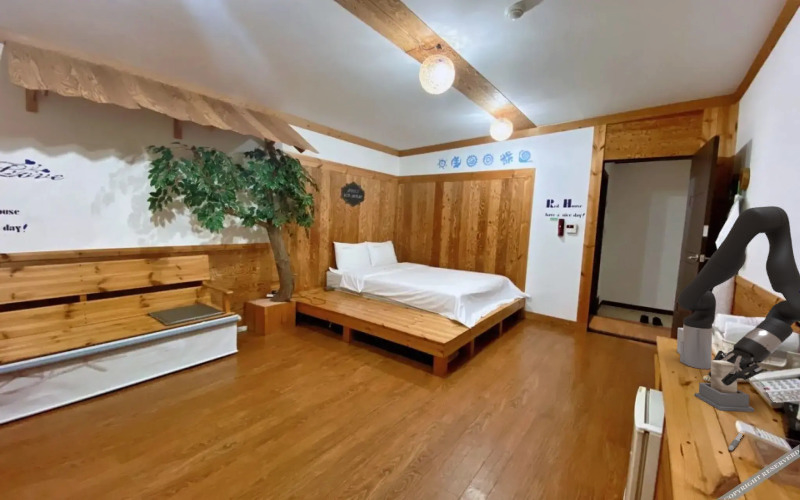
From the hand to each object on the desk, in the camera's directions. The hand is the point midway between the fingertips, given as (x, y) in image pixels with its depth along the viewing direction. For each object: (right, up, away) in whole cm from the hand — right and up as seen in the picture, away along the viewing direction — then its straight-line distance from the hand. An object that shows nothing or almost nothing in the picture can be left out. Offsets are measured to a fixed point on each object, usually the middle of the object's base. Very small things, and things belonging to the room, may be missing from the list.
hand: (717, 380), depth 109 cm
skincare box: (+31, -6, +46) cm, 56 cm away
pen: (-15, -9, -21) cm, 27 cm away
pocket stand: (+2, -8, 0) cm, 8 cm away
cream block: (+2, -4, 0) cm, 5 cm away
